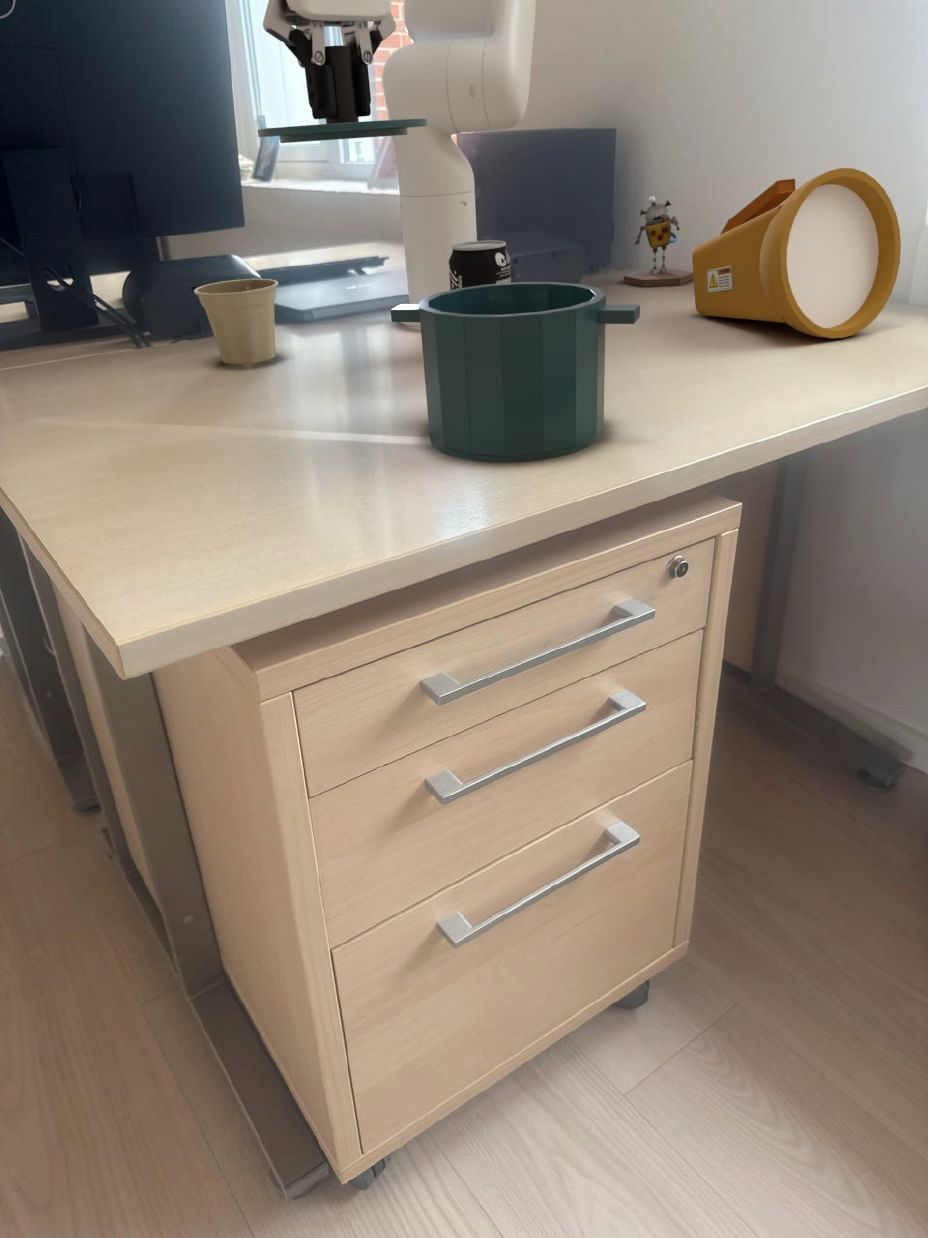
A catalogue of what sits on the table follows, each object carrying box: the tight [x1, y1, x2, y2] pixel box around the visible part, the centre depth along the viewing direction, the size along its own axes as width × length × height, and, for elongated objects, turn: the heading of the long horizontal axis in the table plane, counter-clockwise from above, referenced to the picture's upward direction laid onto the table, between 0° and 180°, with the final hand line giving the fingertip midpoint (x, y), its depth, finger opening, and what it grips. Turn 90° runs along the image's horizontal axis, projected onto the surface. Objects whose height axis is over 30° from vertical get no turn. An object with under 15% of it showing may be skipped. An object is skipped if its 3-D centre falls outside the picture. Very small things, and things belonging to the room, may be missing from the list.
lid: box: [257, 44, 427, 144], centre depth 80 cm, size 16×16×7 cm
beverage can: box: [449, 239, 512, 290], centre depth 96 cm, size 7×7×12 cm
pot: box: [390, 281, 641, 463], centre depth 72 cm, size 15×20×11 cm
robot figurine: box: [623, 195, 694, 288], centre depth 133 cm, size 11×9×12 cm
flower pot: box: [193, 278, 279, 365], centre depth 102 cm, size 9×9×9 cm
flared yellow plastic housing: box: [691, 167, 902, 339], centre depth 102 cm, size 20×17×18 cm
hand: (341, 115), depth 81 cm, fingers closed on lid, 3 cm apart
